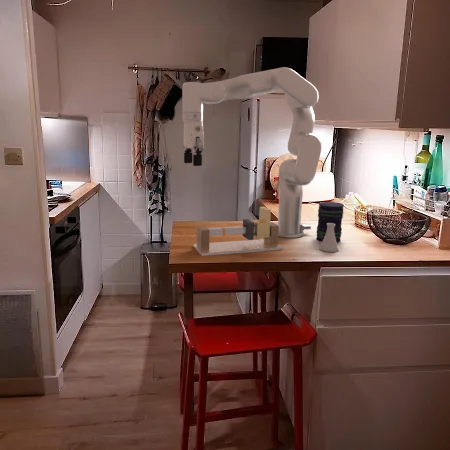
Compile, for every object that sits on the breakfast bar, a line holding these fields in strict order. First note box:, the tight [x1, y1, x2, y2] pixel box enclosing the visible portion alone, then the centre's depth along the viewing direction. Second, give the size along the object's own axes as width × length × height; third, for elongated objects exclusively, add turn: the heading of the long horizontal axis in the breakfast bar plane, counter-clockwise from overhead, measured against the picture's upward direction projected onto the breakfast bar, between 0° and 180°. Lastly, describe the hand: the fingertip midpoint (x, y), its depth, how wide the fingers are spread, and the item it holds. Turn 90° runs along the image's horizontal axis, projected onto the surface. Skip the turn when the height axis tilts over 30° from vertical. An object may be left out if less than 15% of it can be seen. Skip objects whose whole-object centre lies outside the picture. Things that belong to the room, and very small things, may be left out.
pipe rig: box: [193, 221, 283, 257], centre depth 165 cm, size 31×12×8 cm, turn 108°
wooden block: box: [251, 206, 272, 239], centre depth 166 cm, size 5×6×11 cm
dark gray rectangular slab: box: [242, 218, 255, 240], centre depth 165 cm, size 2×6×6 cm, turn 19°
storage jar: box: [315, 201, 345, 244], centre depth 178 cm, size 10×10×15 cm
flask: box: [319, 223, 339, 253], centre depth 166 cm, size 7×7×10 cm
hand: (192, 164), depth 166 cm, fingers open, 9 cm apart
